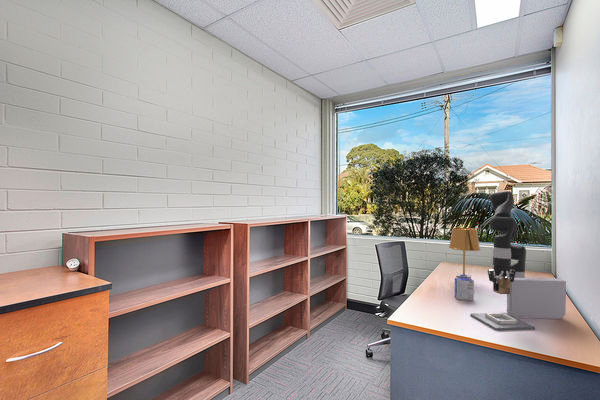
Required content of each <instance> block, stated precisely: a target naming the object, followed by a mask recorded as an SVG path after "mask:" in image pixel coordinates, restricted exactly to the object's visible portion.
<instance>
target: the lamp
mask: <svg viewBox="0 0 600 400" xmlns="http://www.w3.org/2000/svg"><path fill="white" fill-rule="evenodd" d="M448 249H452V250H456V251H462V273H459V272H457V273H456V275H455V276H456V277H455V278H461V277H465V276H461V277H460V275H466V276H467V279H472V274H469V273H468V274H466V273H465V272H466V252H467V251H468V252H479V251H481V247H480V241H479V235H478V230H477V228H472V227H452V231H451V235H450V240H449V246H448Z"/></svg>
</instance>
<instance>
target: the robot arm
mask: <svg viewBox="0 0 600 400" xmlns="http://www.w3.org/2000/svg"><path fill="white" fill-rule="evenodd" d="M489 198H490V199H489V200H490V203H491V206H492V209H493V212H494V215H493V216H492V217H491V219H490V220H489V227H490V228H491V229H492V230H493V231H496V232H499V233H500V234H499V235H495V236H494V237H493V250H492V265H493V268H492V269H487V275H488V279H489V281H490V282H492V284H493V285H492V289H493V288H494V290H496V291H498V290H499V284H498V282H499V280H500V279H501V277H502V278H505V279H508V280H510V282H514V278H526V257H527V250H526V249H527V248H526V247H525V246H523V245H518V244H517V245H516V244H511V243H512V241H513V239H514V238H515V237H516V236H517V233H518V232H519V231H518V227H517V222H516V220H515V219H514V218H513V217H512V216H511V215H512V214H511V213H512V209H513V208H514V205H515V198H514V194H513V192H511V191H509V190H504V191H497V192H492V193H491V194H490V197H489ZM512 260H514V261H515V260H516V261H517V262H516V263H512Z"/></svg>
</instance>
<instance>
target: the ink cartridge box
mask: <svg viewBox="0 0 600 400" xmlns="http://www.w3.org/2000/svg"><path fill="white" fill-rule="evenodd" d="M461 276H465V277H461ZM460 277H461V278H456V277H455V278H454V297H455V299H456V300H463V301H464V300H465V301H474V297H475V295H474V294H475V293H474V292H475V291H474V287H475V285H474V284H475V283H474V281H475V280H474V279H472V278H471V279H467V276H466V275H460Z"/></svg>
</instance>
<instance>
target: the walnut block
mask: <svg viewBox="0 0 600 400" xmlns="http://www.w3.org/2000/svg"><path fill="white" fill-rule="evenodd" d="M498 284H499V290H498V291H496V290H494V288H493V287H492V291H493V292H494V293H497V294H499V295H507V294H510V280H508V279H505V278H503V277H501V279H500V280H499V282H498Z"/></svg>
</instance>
